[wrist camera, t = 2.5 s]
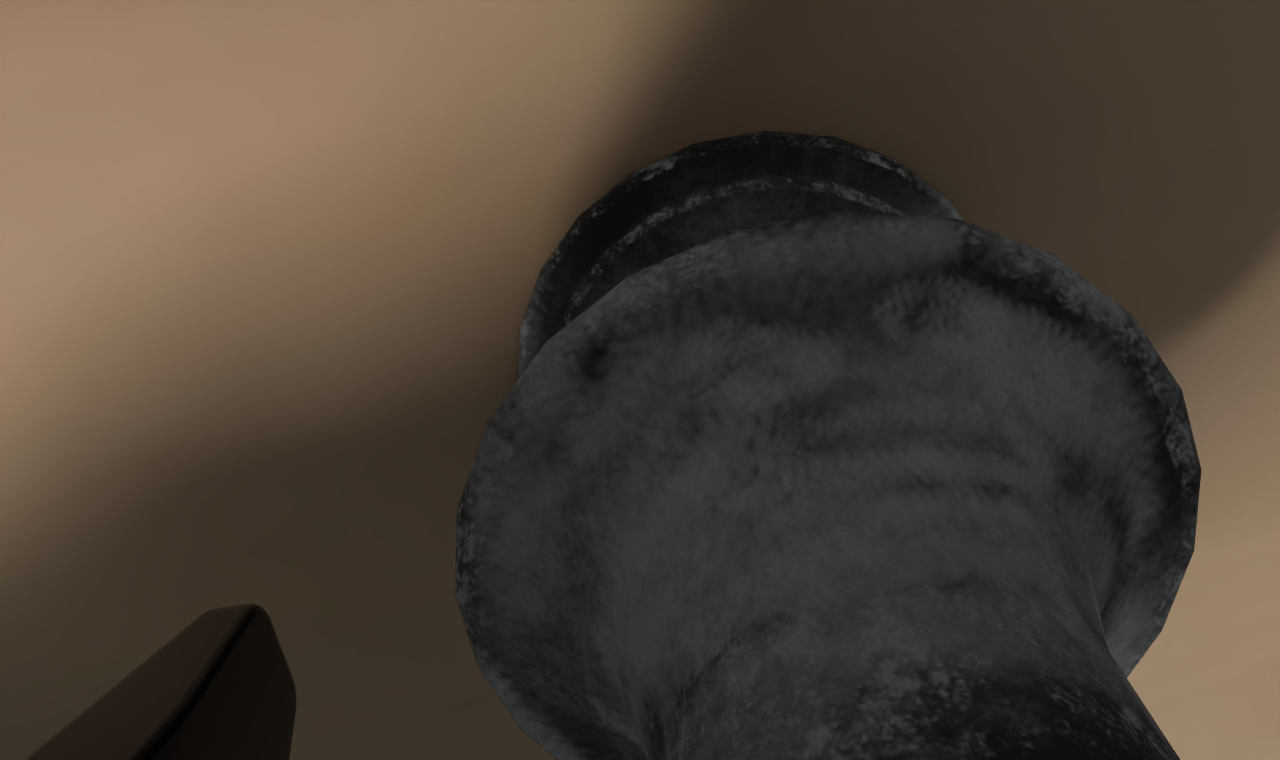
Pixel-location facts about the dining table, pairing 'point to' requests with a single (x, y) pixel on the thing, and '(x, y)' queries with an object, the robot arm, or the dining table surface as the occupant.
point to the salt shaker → (822, 480)
